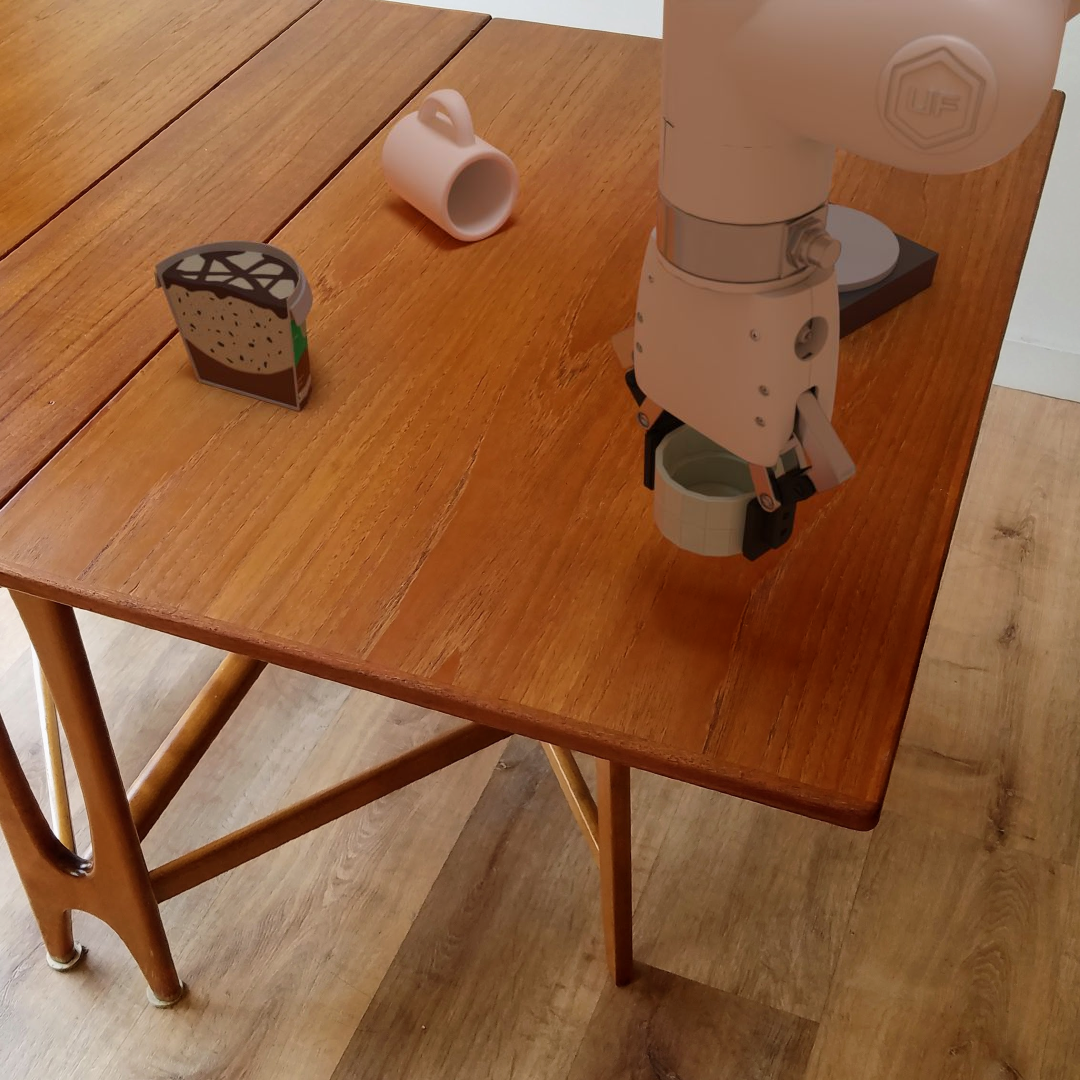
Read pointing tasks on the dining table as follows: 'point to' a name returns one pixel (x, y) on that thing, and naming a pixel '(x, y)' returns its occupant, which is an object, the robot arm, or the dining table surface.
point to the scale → (874, 267)
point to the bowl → (702, 493)
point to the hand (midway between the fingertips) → (714, 509)
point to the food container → (242, 318)
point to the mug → (450, 169)
